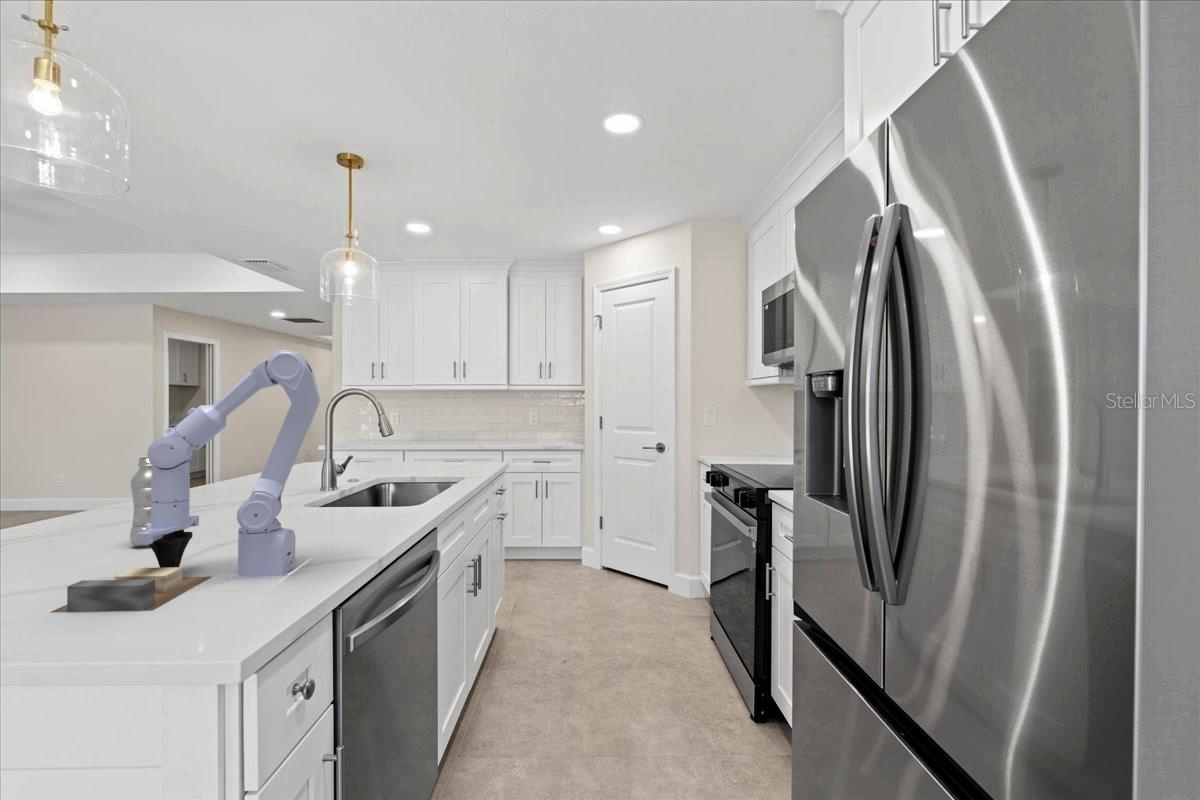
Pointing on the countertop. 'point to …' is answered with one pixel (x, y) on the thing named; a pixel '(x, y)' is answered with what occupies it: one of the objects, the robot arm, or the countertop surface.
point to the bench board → (121, 595)
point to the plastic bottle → (141, 499)
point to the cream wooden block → (156, 577)
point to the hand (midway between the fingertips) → (169, 573)
